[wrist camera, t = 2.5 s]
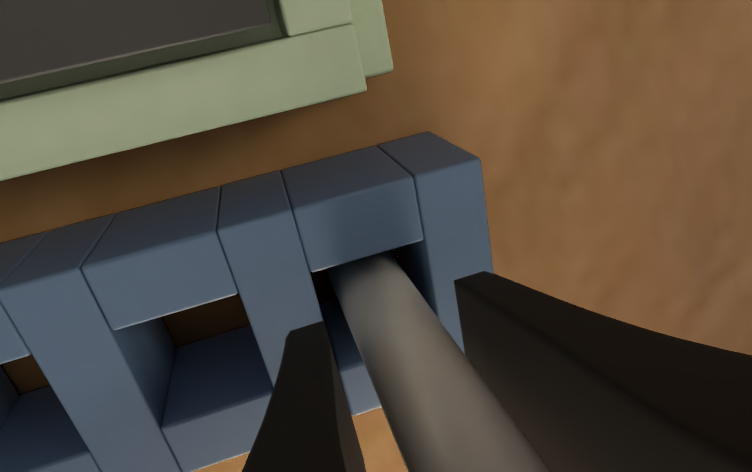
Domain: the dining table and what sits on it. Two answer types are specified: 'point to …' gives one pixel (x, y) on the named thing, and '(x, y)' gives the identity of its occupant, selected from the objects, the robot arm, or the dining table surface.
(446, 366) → the white rounded rod
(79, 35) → the screen
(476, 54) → the dining table surface
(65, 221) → the dining table surface
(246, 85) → the pale green stepped tray
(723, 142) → the dining table surface
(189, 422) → the pen rack
